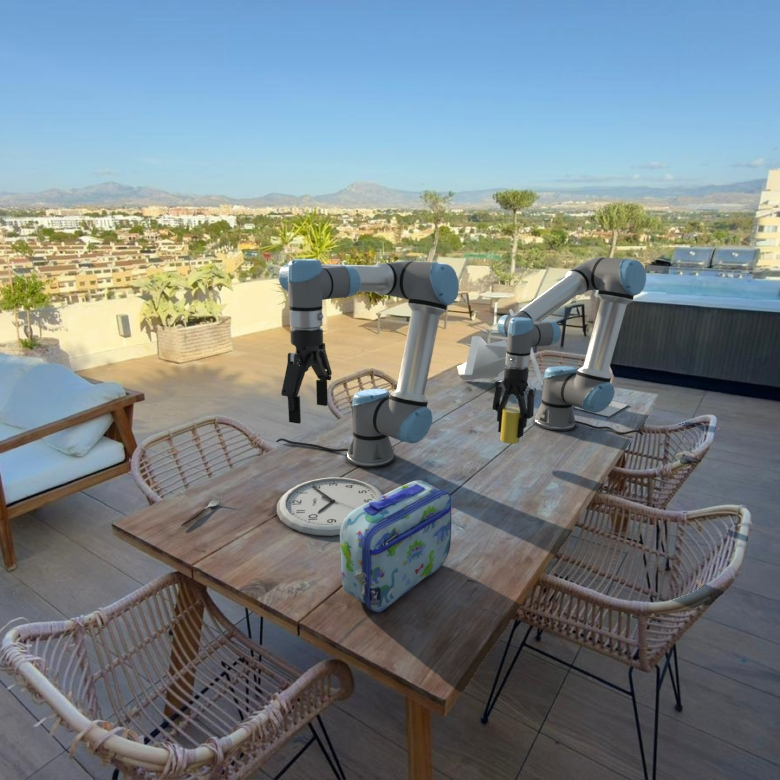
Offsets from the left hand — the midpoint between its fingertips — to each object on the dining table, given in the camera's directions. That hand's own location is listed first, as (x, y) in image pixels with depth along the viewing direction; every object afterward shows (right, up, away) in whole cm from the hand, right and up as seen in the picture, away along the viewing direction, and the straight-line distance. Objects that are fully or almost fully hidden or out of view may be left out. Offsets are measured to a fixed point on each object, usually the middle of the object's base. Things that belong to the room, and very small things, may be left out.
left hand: (309, 413), depth 128 cm
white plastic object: (+71, +7, +123) cm, 142 cm away
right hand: (+60, -9, +46) cm, 76 cm away
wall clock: (+4, -26, +15) cm, 30 cm away
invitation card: (+111, -2, +98) cm, 148 cm away
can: (+60, -11, +46) cm, 76 cm away
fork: (-30, -27, +10) cm, 41 cm away
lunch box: (+21, -36, -16) cm, 45 cm away
